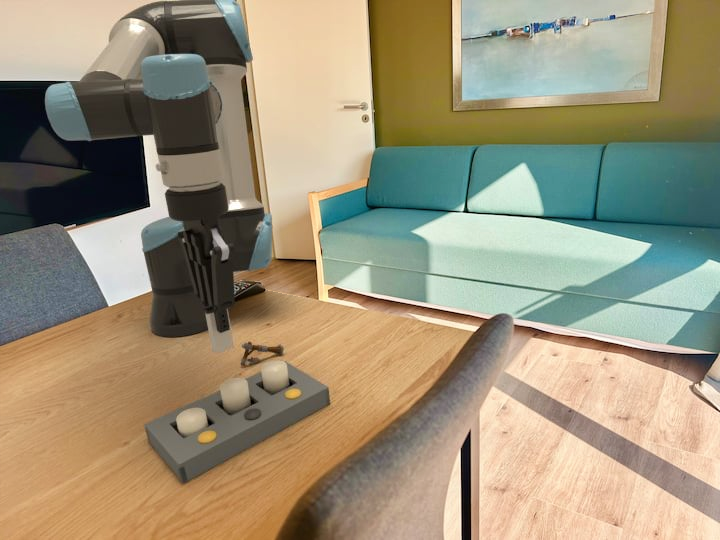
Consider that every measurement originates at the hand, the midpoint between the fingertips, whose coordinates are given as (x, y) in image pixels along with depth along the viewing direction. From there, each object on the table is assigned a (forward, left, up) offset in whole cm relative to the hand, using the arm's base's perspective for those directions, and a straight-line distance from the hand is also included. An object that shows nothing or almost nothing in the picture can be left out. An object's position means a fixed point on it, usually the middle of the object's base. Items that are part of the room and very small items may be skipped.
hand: (223, 348), depth 74 cm
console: (+1, +1, -12) cm, 12 cm away
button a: (0, -6, -12) cm, 13 cm away
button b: (0, +1, -10) cm, 10 cm away
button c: (0, +8, -10) cm, 13 cm away
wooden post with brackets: (-13, +13, -13) cm, 22 cm away
